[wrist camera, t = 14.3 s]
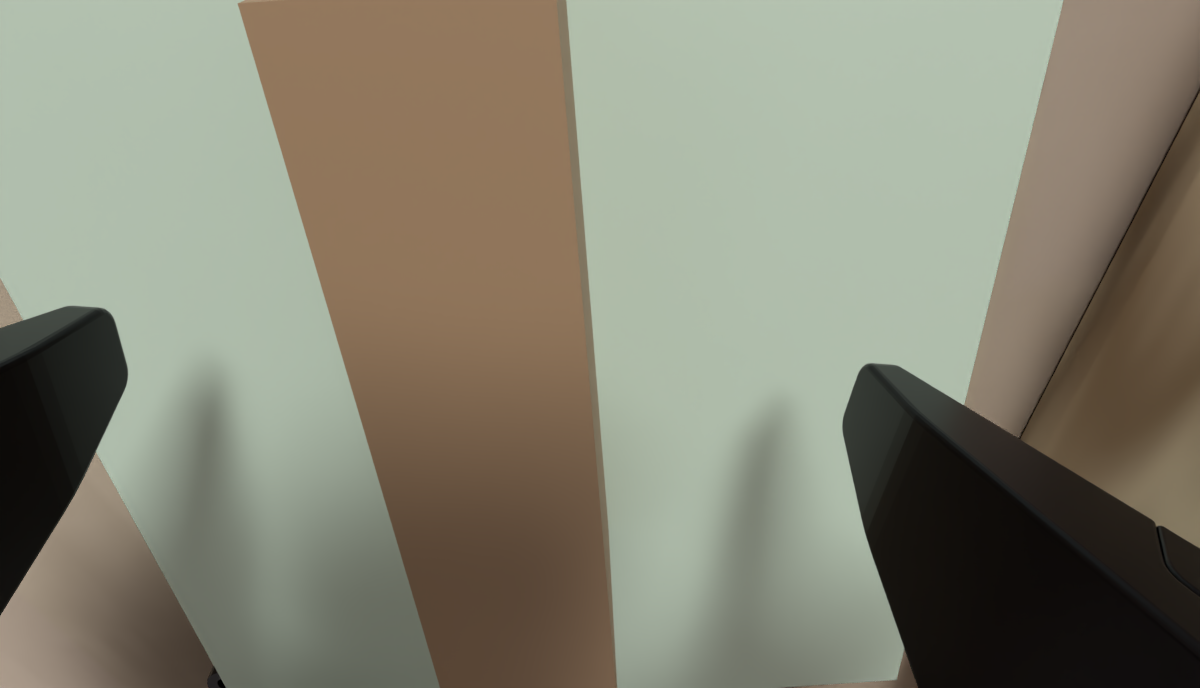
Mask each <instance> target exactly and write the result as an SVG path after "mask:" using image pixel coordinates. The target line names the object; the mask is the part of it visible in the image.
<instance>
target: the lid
mask: <svg viewBox="0 0 1200 688" xmlns="http://www.w3.org/2000/svg"><path fill="white" fill-rule="evenodd" d="M1062 4H1063V0H0V278H1V280H2V282H3V284H4V286H5V287H6V289H7V291H8V293H9V295H10V297H11V298H12V300H13V302H14V304H15V306H16V307H17V309H18V311H19V313H20V315H21V317H22V318H23V320H26V319H29V318H32V317H35V316H38V315H41V314H44V313H47V312H50V311H53V310H56V309H59V308H62V307H65V306H86V307H99V308H104V309H106V310H107V311H109V312H110V313H111V314H112V316H113V317H114V320H115V323H116V326H117V330H118V333H119V337H120V341H121V344H122V348H123V352H124V355H125V359H126V363H127V367H128V381H127V385H126V388H125V391H124V393H123V395H122V397H121V399H120V401H119V403H118V406H117V408H116V410H115V412H114V414H113V416H112V418H111V420H110V423H109V425H108V427H107V429H106V431H105V433H104V435H103V438H102V440H101V442H100V444H99V446H98V448H97V450H96V453H97V455H98V456H99V458H100V460H101V462H102V464H103V465H104V467H105V469H106V471H107V473H108V475H109V476H110V478H111V480H112V482H113V484H114V485H115V487H116V489H117V491H118V493H119V494H120V496H121V498H122V500H123V502H124V504H125V505H126V507H127V509H128V511H129V513H130V514H131V516H132V518H133V520H134V522H135V524H136V525H137V527H138V529H139V531H140V533H141V534H142V536H143V538H144V540H145V542H146V544H147V545H148V547H149V549H150V551H151V553H152V554H153V556H154V558H155V560H156V562H157V563H158V565H159V567H160V569H161V571H162V573H163V574H164V576H165V578H166V580H167V582H168V583H169V585H170V587H171V589H172V591H173V593H174V594H175V596H176V598H177V600H178V602H179V603H180V605H181V607H182V609H183V611H184V613H185V614H186V616H187V618H188V620H189V622H190V623H191V625H192V627H193V629H194V631H195V633H196V634H197V636H198V638H199V640H200V642H201V643H202V645H203V647H204V649H205V651H206V652H207V654H208V656H209V658H210V660H211V662H212V663H213V665H214V667H215V669H216V671H217V672H218V674H219V676H220V678H221V680H222V682H223V683H224V685H225V687H226V688H783V687H798V686H813V685H828V684H843V683H858V682H873V681H888V680H897V676H898V672H899V668H900V664H901V660H902V656H903V652H904V646H903V643H902V640H901V637H900V634H899V632H898V629H897V626H896V623H895V620H894V617H893V614H892V611H891V609H890V606H889V603H888V600H887V597H886V594H885V591H884V588H883V586H882V583H881V580H880V577H879V574H878V571H877V568H876V565H875V563H874V560H873V557H872V554H871V551H870V548H869V545H868V541H867V538H866V535H865V531H864V527H863V523H862V519H861V515H860V510H859V506H858V501H857V497H856V492H855V487H854V483H853V478H852V474H851V469H850V465H849V460H848V456H847V451H846V446H845V442H844V437H843V431H842V422H843V416H844V412H845V409H846V407H847V404H848V401H849V398H850V395H851V392H852V389H853V386H854V384H855V381H856V378H857V375H858V373H859V371H860V369H861V368H862V367H863V366H864V365H866V364H867V363H877V364H892V365H897V366H900V367H901V368H903V369H905V370H906V371H908V372H910V373H911V374H913V375H915V376H916V377H918V378H920V379H921V380H923V381H925V382H926V383H928V384H929V385H931V386H933V387H934V388H936V389H938V390H939V391H941V392H943V393H944V394H946V395H948V396H949V397H951V398H953V399H954V400H956V401H957V402H959V403H961V404H962V405H964V403H965V399H966V395H967V391H968V387H969V383H970V379H971V375H972V371H973V367H974V363H975V358H976V354H977V350H978V346H979V342H980V338H981V334H982V330H983V326H984V322H985V318H986V314H987V310H988V305H989V301H990V297H991V293H992V289H993V285H994V281H995V277H996V273H997V269H998V265H999V261H1000V257H1001V253H1002V248H1003V244H1004V240H1005V236H1006V232H1007V228H1008V224H1009V220H1010V216H1011V212H1012V208H1013V204H1014V200H1015V196H1016V191H1017V187H1018V183H1019V179H1020V175H1021V171H1022V167H1023V163H1024V159H1025V155H1026V151H1027V147H1028V143H1029V139H1030V134H1031V130H1032V126H1033V122H1034V118H1035V114H1036V110H1037V106H1038V102H1039V98H1040V94H1041V90H1042V86H1043V82H1044V77H1045V73H1046V69H1047V65H1048V61H1049V57H1050V53H1051V49H1052V45H1053V41H1054V37H1055V33H1056V29H1057V24H1058V20H1059V16H1060V12H1061V8H1062Z"/></svg>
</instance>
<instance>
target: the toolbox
mask: <svg viewBox="0 0 1200 688" xmlns="http://www.w3.org/2000/svg"><path fill="white" fill-rule="evenodd" d="M1020 440H1022V441H1023V442H1025V443H1027V444H1028V445H1030V446H1032V447H1033V448H1035V449H1037V450H1038V451H1040V452H1041V453H1043V454H1045V455H1046V456H1048V457H1050V458H1051V459H1053V460H1055V461H1056V462H1058V463H1060V464H1061V465H1063V466H1065V467H1066V468H1068V469H1069V470H1071V471H1073V472H1074V473H1076V474H1078V475H1079V476H1081V477H1083V478H1084V479H1086V480H1088V481H1089V482H1091V483H1093V484H1094V485H1096V486H1097V487H1099V488H1101V489H1102V490H1104V491H1106V492H1107V493H1109V494H1111V495H1112V496H1114V497H1116V498H1117V499H1119V500H1121V501H1122V502H1124V503H1125V504H1127V505H1129V506H1130V507H1132V508H1134V509H1135V510H1137V511H1139V512H1140V513H1142V514H1144V515H1145V516H1147V517H1149V518H1150V519H1152V520H1153V521H1154V522H1155V524H1156V526H1159V525H1160V526H1164V527H1165V528H1167V529H1169V530H1170V531H1172V532H1174V533H1175V534H1177V535H1178V536H1180V537H1182V538H1183V539H1185V540H1187V541H1188V542H1190V543H1192V544H1193V545H1195V546H1197V547H1198V548H1200V92H1199V94H1198V96H1197V98H1196V100H1195V102H1194V104H1193V106H1192V108H1191V110H1190V112H1189V114H1188V115H1187V117H1186V119H1185V121H1184V123H1183V125H1182V127H1181V129H1180V131H1179V133H1178V135H1177V137H1176V139H1175V141H1174V143H1173V144H1172V146H1171V148H1170V150H1169V152H1168V154H1167V156H1166V158H1165V160H1164V162H1163V164H1162V166H1161V168H1160V170H1159V172H1158V173H1157V175H1156V177H1155V179H1154V181H1153V183H1152V185H1151V187H1150V189H1149V191H1148V193H1147V195H1146V197H1145V199H1144V201H1143V202H1142V204H1141V206H1140V208H1139V210H1138V212H1137V214H1136V216H1135V218H1134V220H1133V222H1132V224H1131V226H1130V228H1129V230H1128V231H1127V233H1126V235H1125V237H1124V239H1123V241H1122V243H1121V245H1120V247H1119V249H1118V251H1117V253H1116V255H1115V257H1114V259H1113V260H1112V262H1111V264H1110V266H1109V268H1108V270H1107V272H1106V274H1105V276H1104V278H1103V280H1102V282H1101V284H1100V286H1099V287H1098V289H1097V291H1096V293H1095V295H1094V297H1093V299H1092V301H1091V303H1090V305H1089V307H1088V309H1087V311H1086V313H1085V315H1084V316H1083V318H1082V320H1081V322H1080V324H1079V326H1078V328H1077V330H1076V332H1075V334H1074V336H1073V338H1072V340H1071V342H1070V344H1069V345H1068V347H1067V349H1066V351H1065V353H1064V355H1063V357H1062V359H1061V361H1060V363H1059V365H1058V367H1057V369H1056V371H1055V373H1054V374H1053V376H1052V378H1051V380H1050V382H1049V384H1048V386H1047V388H1046V390H1045V392H1044V394H1043V396H1042V398H1041V400H1040V402H1039V403H1038V405H1037V407H1036V409H1035V411H1034V413H1033V415H1032V417H1031V419H1030V421H1029V423H1028V425H1027V427H1026V429H1025V431H1024V432H1023V434H1022V436H1021V438H1020Z"/></svg>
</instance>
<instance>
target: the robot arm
mask: <svg viewBox="0 0 1200 688" xmlns="http://www.w3.org/2000/svg"><path fill="white" fill-rule="evenodd" d="M127 381H128V367H127V363H126V359H125V355H124V352H123V348H122V344H121V341H120V337H119V333H118V330H117V326H116V323H115V320H114V317H113V316H112V314H111V313H110V312H109V311H107V310H106V309H104V308H99V307H86V306H65V307H62V308H59V309H56V310H53V311H50V312H47V313H44V314H41V315H38V316H35V317H32V318H29V319H26V320H23V321H20V322H17V323H14V324H11V325H8V326H5V327H2V328H0V615H1V614H2V612H3V610H4V609H5V607H6V606H7V604H8V602H9V601H10V599H11V597H12V596H13V594H14V593H15V591H16V589H17V588H18V586H19V585H20V583H21V581H22V580H23V578H24V577H25V575H26V573H27V572H28V570H29V569H30V567H31V565H32V564H33V562H34V561H35V559H36V557H37V556H38V554H39V552H40V551H41V549H42V548H43V546H44V544H45V543H46V541H47V540H48V538H49V536H50V535H51V533H52V532H53V530H54V528H55V527H56V525H57V524H58V522H59V520H60V519H61V517H62V516H63V514H64V512H65V511H66V509H67V507H68V505H69V504H70V502H71V500H72V499H73V497H74V495H75V493H76V491H77V489H78V488H79V486H80V484H81V482H82V480H83V478H84V476H85V474H86V472H87V469H88V467H89V465H90V463H91V461H92V459H93V457H94V455H95V452H96V450H97V448H98V446H99V444H100V442H101V440H102V438H103V435H104V433H105V431H106V429H107V427H108V425H109V423H110V420H111V418H112V416H113V414H114V412H115V410H116V408H117V406H118V403H119V401H120V399H121V397H122V395H123V393H124V391H125V388H126V385H127ZM842 431H843V437H844V442H845V446H846V451H847V456H848V460H849V465H850V469H851V474H852V478H853V483H854V487H855V492H856V497H857V501H858V506H859V510H860V515H861V519H862V523H863V527H864V531H865V535H866V538H867V541H868V545H869V548H870V551H871V554H872V557H873V560H874V563H875V565H876V568H877V571H878V574H879V577H880V580H881V583H882V586H883V588H884V591H885V594H886V597H887V600H888V603H889V606H890V609H891V611H892V614H893V617H894V620H895V623H896V626H897V629H898V632H899V634H900V637H901V640H902V643H903V646H904V649H905V652H906V655H907V657H908V660H909V663H910V666H911V669H912V672H913V675H914V678H915V680H916V683H917V686H918V688H1200V548H1198V547H1197V546H1195V545H1193V544H1192V543H1190V542H1188V541H1187V540H1185V539H1183V538H1182V537H1180V536H1178V535H1177V534H1175V533H1174V532H1172V531H1170V530H1169V529H1167V528H1165V527H1164V526H1160V525H1159V526H1156V524H1155V522H1154V521H1153V520H1152V519H1150V518H1149V517H1147V516H1145V515H1144V514H1142V513H1140V512H1139V511H1137V510H1135V509H1134V508H1132V507H1130V506H1129V505H1127V504H1125V503H1124V502H1122V501H1121V500H1119V499H1117V498H1116V497H1114V496H1112V495H1111V494H1109V493H1107V492H1106V491H1104V490H1102V489H1101V488H1099V487H1097V486H1096V485H1094V484H1093V483H1091V482H1089V481H1088V480H1086V479H1084V478H1083V477H1081V476H1079V475H1078V474H1076V473H1074V472H1073V471H1071V470H1069V469H1068V468H1066V467H1065V466H1063V465H1061V464H1060V463H1058V462H1056V461H1055V460H1053V459H1051V458H1050V457H1048V456H1046V455H1045V454H1043V453H1041V452H1040V451H1038V450H1037V449H1035V448H1033V447H1032V446H1030V445H1028V444H1027V443H1025V442H1023V441H1022V440H1020V439H1018V438H1017V437H1015V436H1013V435H1012V434H1010V433H1009V432H1007V431H1005V430H1004V429H1002V428H1000V427H999V426H997V425H995V424H994V423H992V422H990V421H989V420H987V419H985V418H984V417H982V416H981V415H979V414H977V413H976V412H974V411H972V410H971V409H969V408H967V407H966V406H964V405H962V404H961V403H959V402H957V401H956V400H954V399H953V398H951V397H949V396H948V395H946V394H944V393H943V392H941V391H939V390H938V389H936V388H934V387H933V386H931V385H929V384H928V383H926V382H925V381H923V380H921V379H920V378H918V377H916V376H915V375H913V374H911V373H910V372H908V371H906V370H905V369H903V368H901V367H900V366H897V365H892V364H877V363H867V364H866V365H864V366H863V367H862V368H861V369H860V371H859V373H858V375H857V378H856V381H855V384H854V386H853V389H852V392H851V395H850V398H849V401H848V404H847V407H846V409H845V412H844V416H843V422H842ZM208 687H209V688H226V687H225V685H224V683H223V682H222V680H221V678H220V676H219V674H218V672H217V671H216V669H215V667H214V666H213V668H212V671H211V673H210V675H209V677H208Z"/></svg>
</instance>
